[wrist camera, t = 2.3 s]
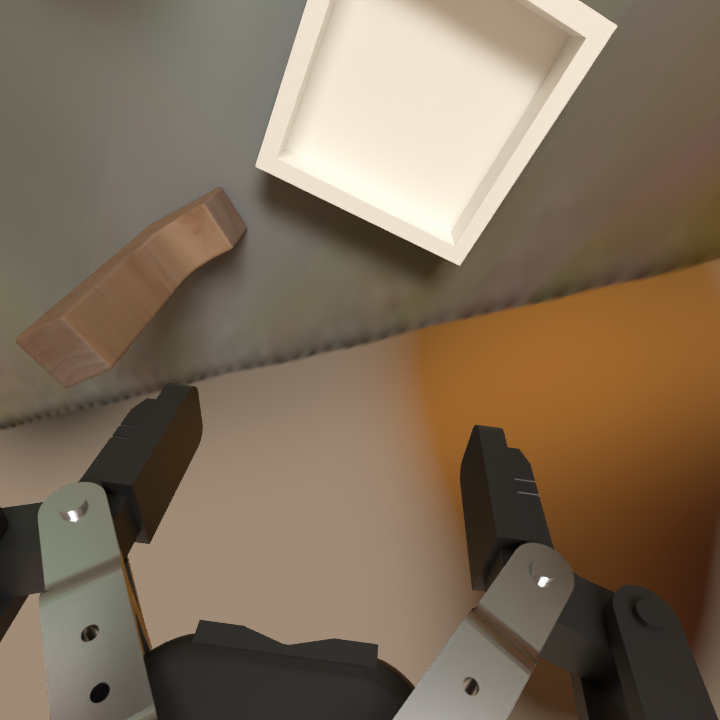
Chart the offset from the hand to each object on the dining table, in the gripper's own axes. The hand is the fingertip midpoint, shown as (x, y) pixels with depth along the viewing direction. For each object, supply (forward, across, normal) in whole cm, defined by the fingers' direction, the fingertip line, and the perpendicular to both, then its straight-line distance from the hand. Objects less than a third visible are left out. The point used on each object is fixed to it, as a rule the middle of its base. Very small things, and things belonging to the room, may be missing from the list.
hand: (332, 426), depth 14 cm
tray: (+22, -2, -6) cm, 23 cm away
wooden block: (+22, +12, +4) cm, 26 cm away
